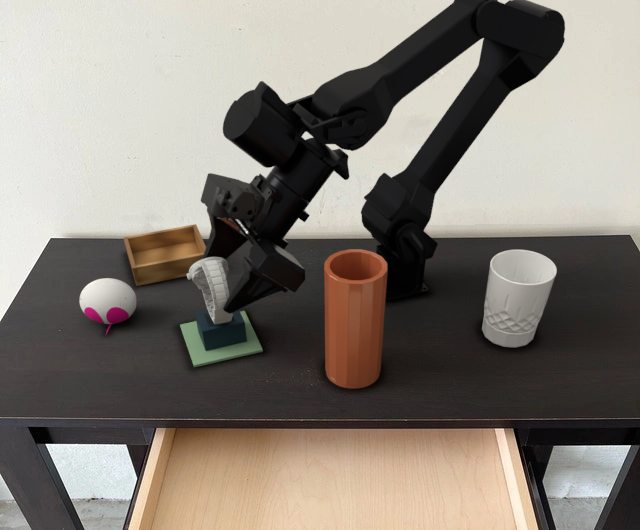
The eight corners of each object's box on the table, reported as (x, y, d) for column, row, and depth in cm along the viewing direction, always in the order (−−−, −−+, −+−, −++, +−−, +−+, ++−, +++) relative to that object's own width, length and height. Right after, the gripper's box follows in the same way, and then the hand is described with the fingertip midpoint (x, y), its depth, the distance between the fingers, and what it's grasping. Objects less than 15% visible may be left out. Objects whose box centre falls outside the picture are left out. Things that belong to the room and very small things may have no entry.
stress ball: (90, 345, 91) (68, 330, 85) (94, 290, 93) (73, 271, 86) (143, 344, 91) (125, 329, 84) (146, 289, 92) (129, 270, 86)
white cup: (499, 307, 91) (514, 242, 84) (550, 332, 87) (569, 266, 80) (465, 332, 87) (477, 266, 80) (516, 359, 83) (533, 292, 76)
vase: (367, 348, 85) (372, 244, 74) (388, 381, 81) (397, 275, 70) (318, 360, 83) (316, 255, 73) (336, 394, 79) (337, 288, 68)
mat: (244, 312, 91) (244, 310, 90) (262, 351, 85) (262, 349, 85) (180, 326, 89) (179, 324, 88) (194, 367, 83) (193, 365, 83)
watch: (234, 314, 90) (225, 242, 82) (250, 349, 85) (242, 275, 77) (194, 323, 89) (180, 251, 81) (208, 359, 83) (195, 285, 75)
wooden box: (198, 241, 104) (195, 223, 102) (211, 271, 98) (209, 253, 96) (127, 254, 102) (123, 237, 100) (136, 286, 96) (132, 268, 94)
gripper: (211, 118, 77) (139, 227, 82) (272, 183, 65) (184, 305, 70) (277, 170, 85) (208, 266, 90) (343, 236, 73) (259, 343, 78)
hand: (213, 292), depth 82 cm, fingers open, 9 cm apart
